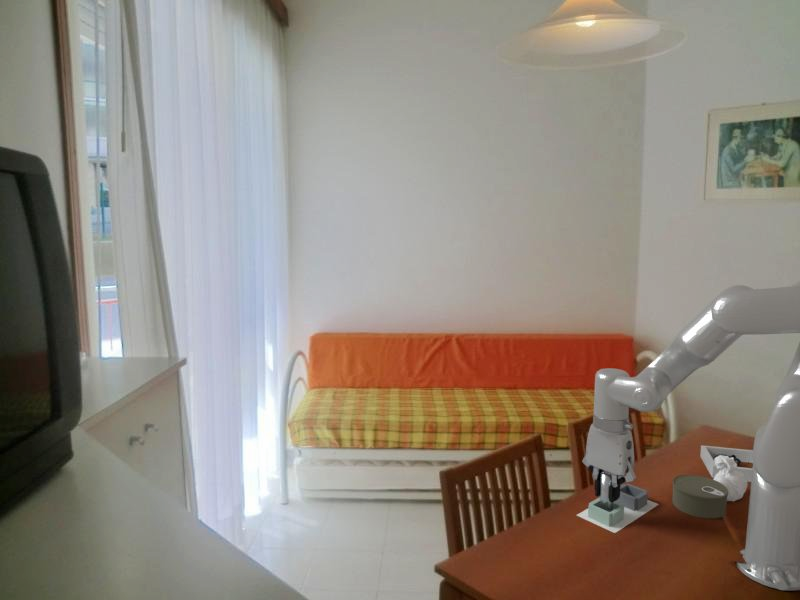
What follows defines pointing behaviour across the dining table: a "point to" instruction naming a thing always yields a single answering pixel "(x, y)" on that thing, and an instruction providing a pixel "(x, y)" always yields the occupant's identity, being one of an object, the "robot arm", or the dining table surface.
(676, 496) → the can
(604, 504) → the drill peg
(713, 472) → the controller tray
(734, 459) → the game controller
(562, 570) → the dining table surface
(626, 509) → the tool board
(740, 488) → the bust
